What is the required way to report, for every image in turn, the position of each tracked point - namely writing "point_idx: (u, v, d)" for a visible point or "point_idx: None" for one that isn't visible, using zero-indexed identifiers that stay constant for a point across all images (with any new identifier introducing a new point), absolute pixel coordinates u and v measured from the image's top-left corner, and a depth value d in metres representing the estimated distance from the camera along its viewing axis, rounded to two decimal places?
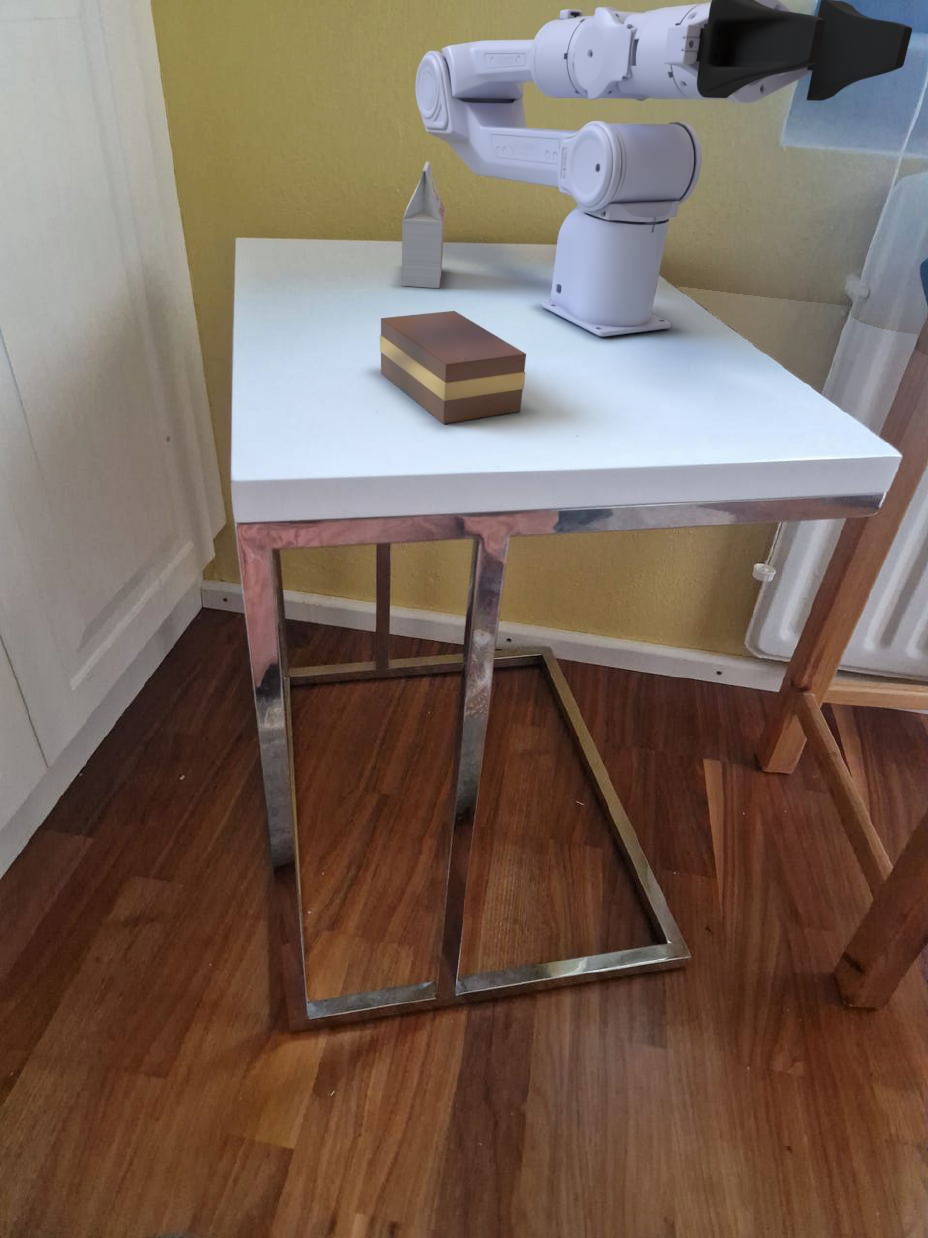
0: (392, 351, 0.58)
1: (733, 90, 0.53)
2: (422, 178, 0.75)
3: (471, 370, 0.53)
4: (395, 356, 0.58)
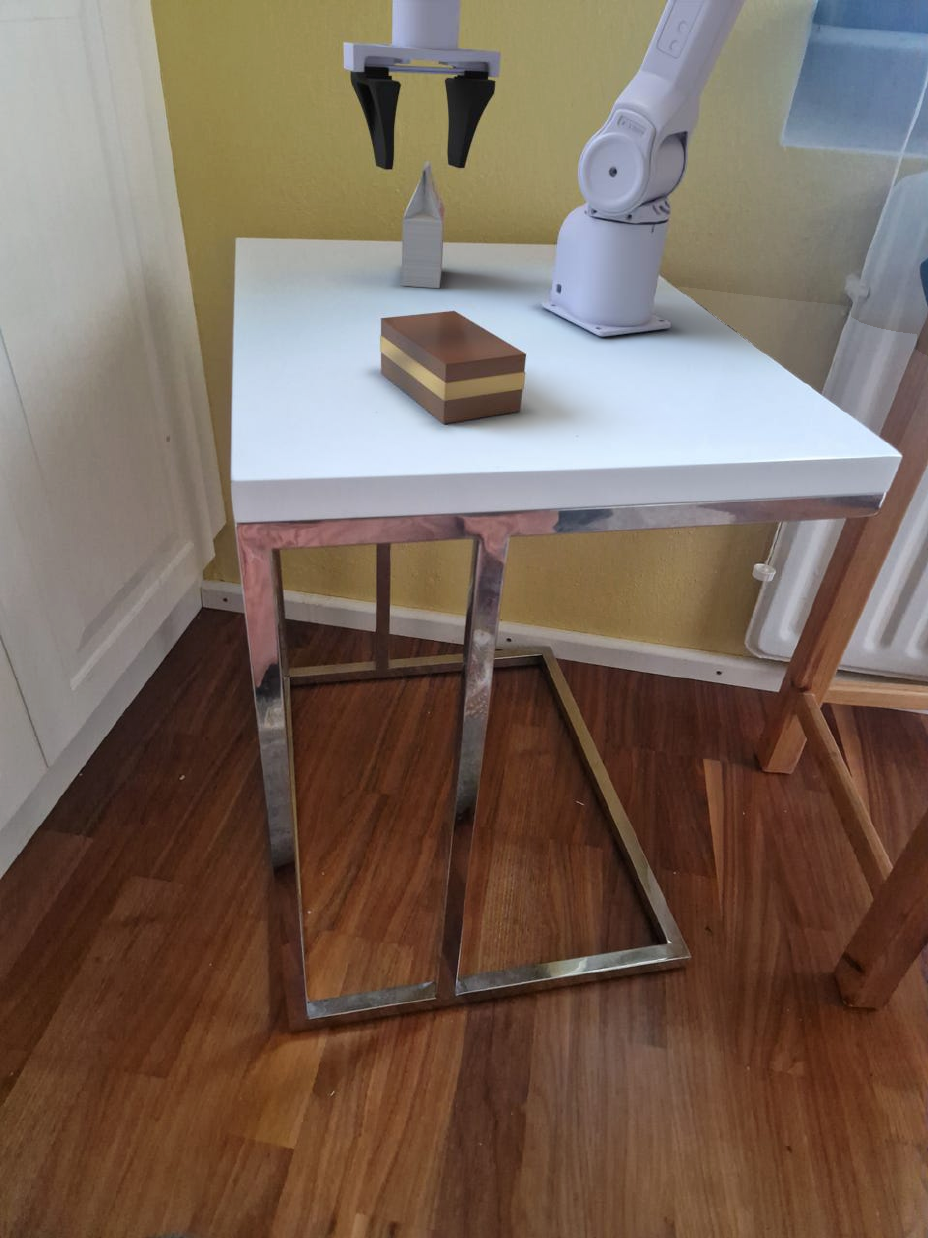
0: (392, 351, 0.58)
1: (475, 96, 0.73)
2: (422, 178, 0.75)
3: (471, 370, 0.53)
4: (395, 356, 0.58)
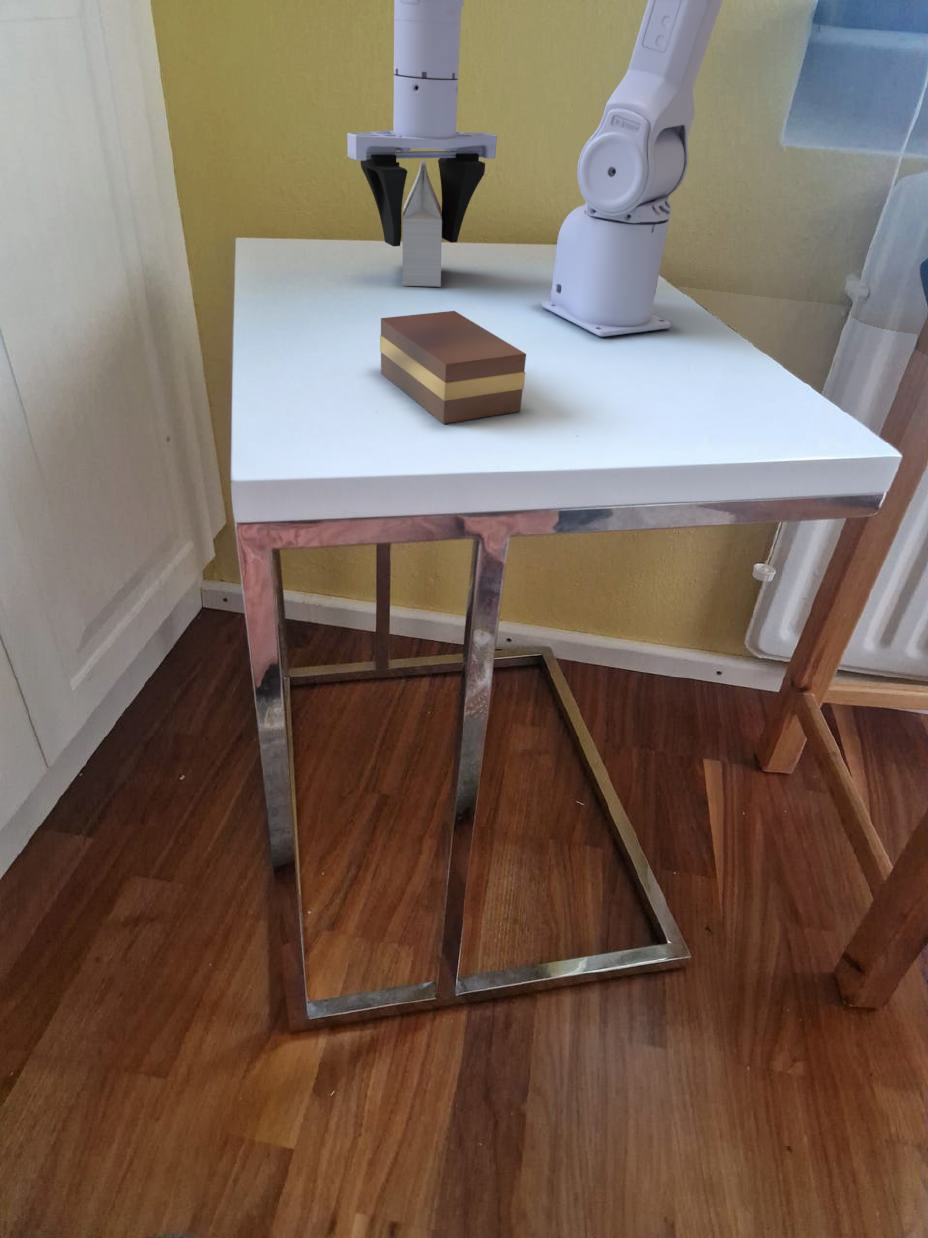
0: (392, 351, 0.58)
1: (466, 178, 0.77)
2: (421, 177, 0.75)
3: (471, 370, 0.53)
4: (395, 356, 0.58)
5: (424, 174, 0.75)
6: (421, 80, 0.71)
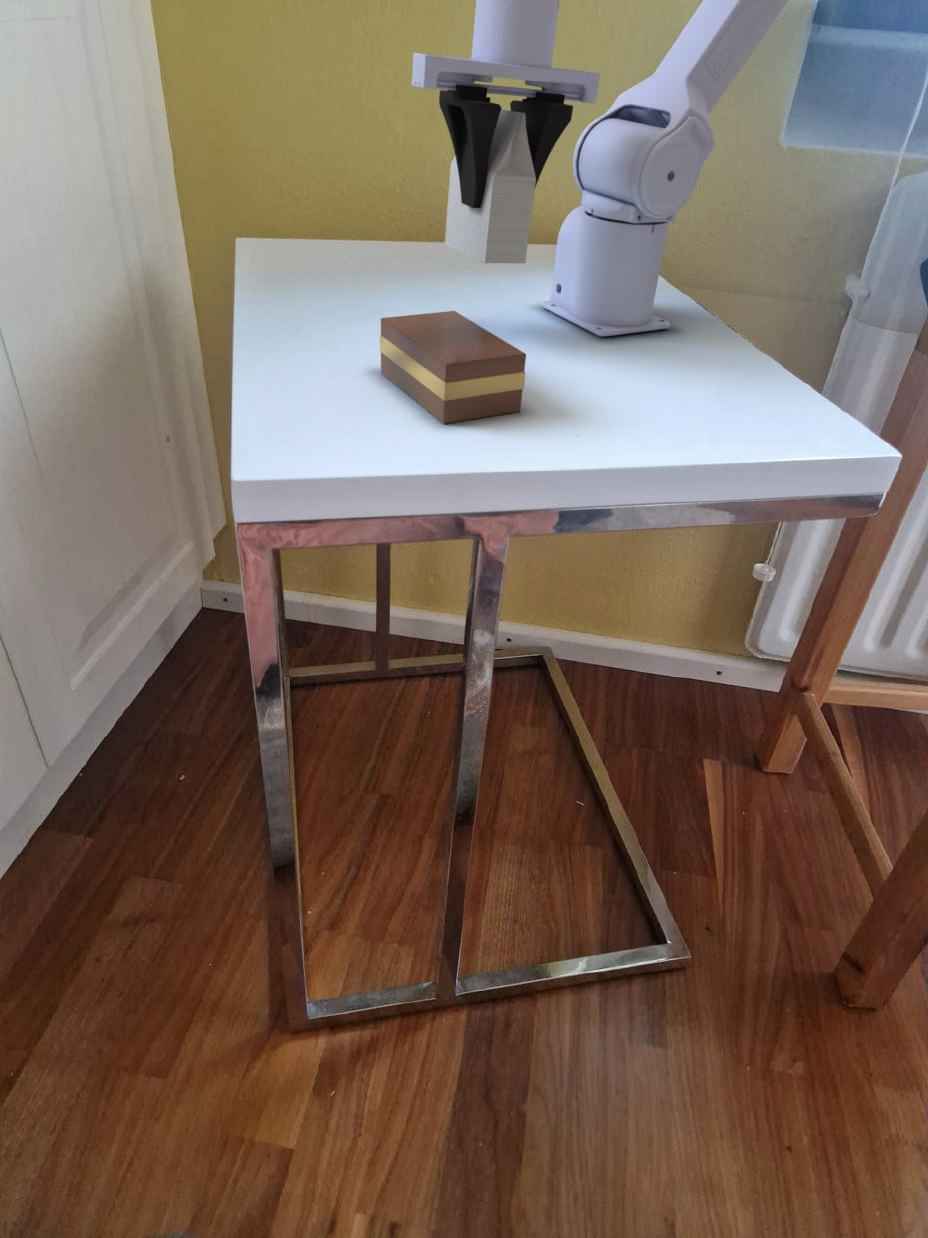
0: (392, 351, 0.58)
1: (547, 123, 0.60)
2: None
3: (471, 370, 0.53)
4: (395, 356, 0.58)
5: (521, 118, 0.59)
6: None
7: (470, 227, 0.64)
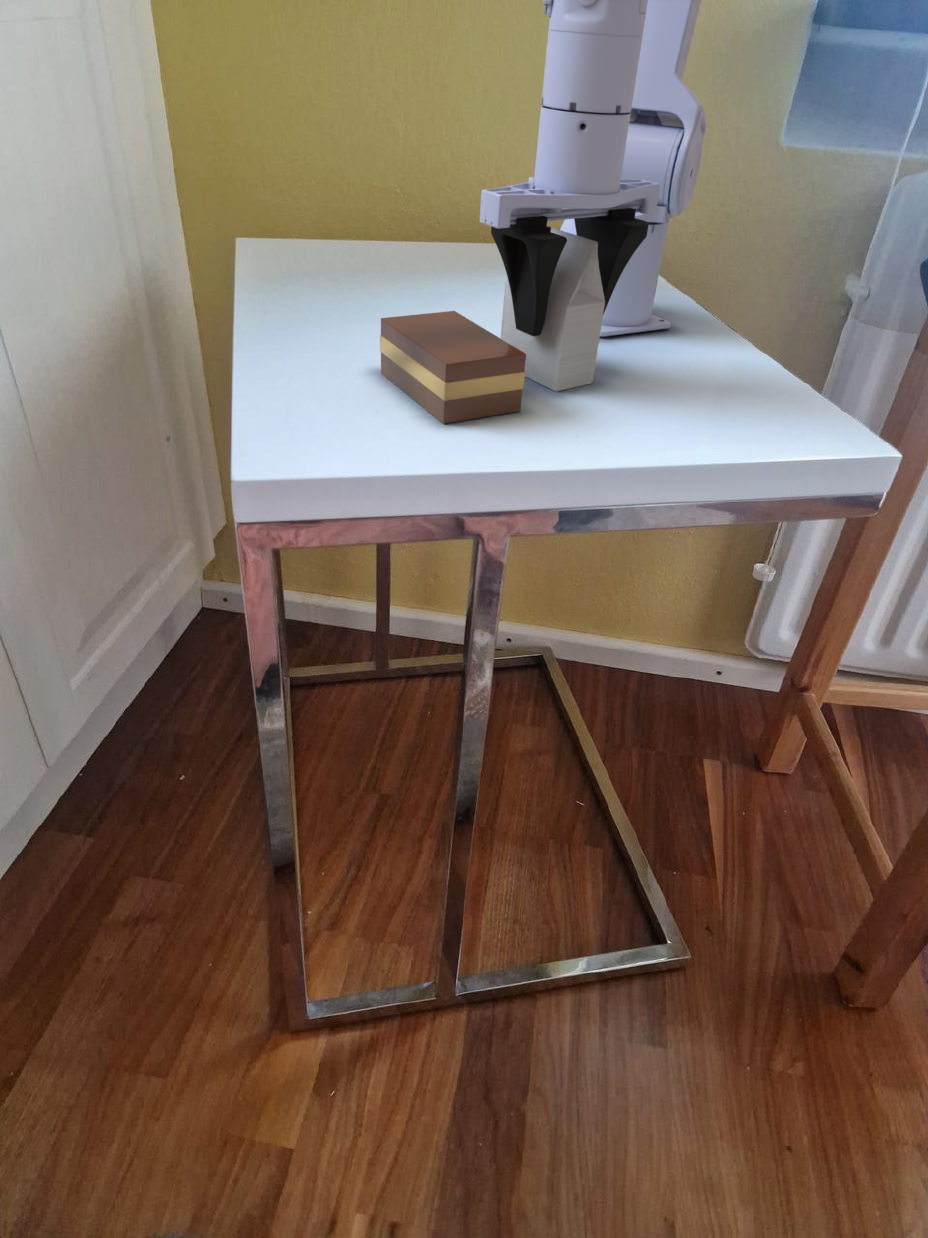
0: (392, 351, 0.58)
1: (625, 243, 0.57)
2: None
3: (471, 370, 0.53)
4: (395, 356, 0.58)
5: (592, 246, 0.56)
6: (591, 116, 0.50)
7: (534, 352, 0.61)
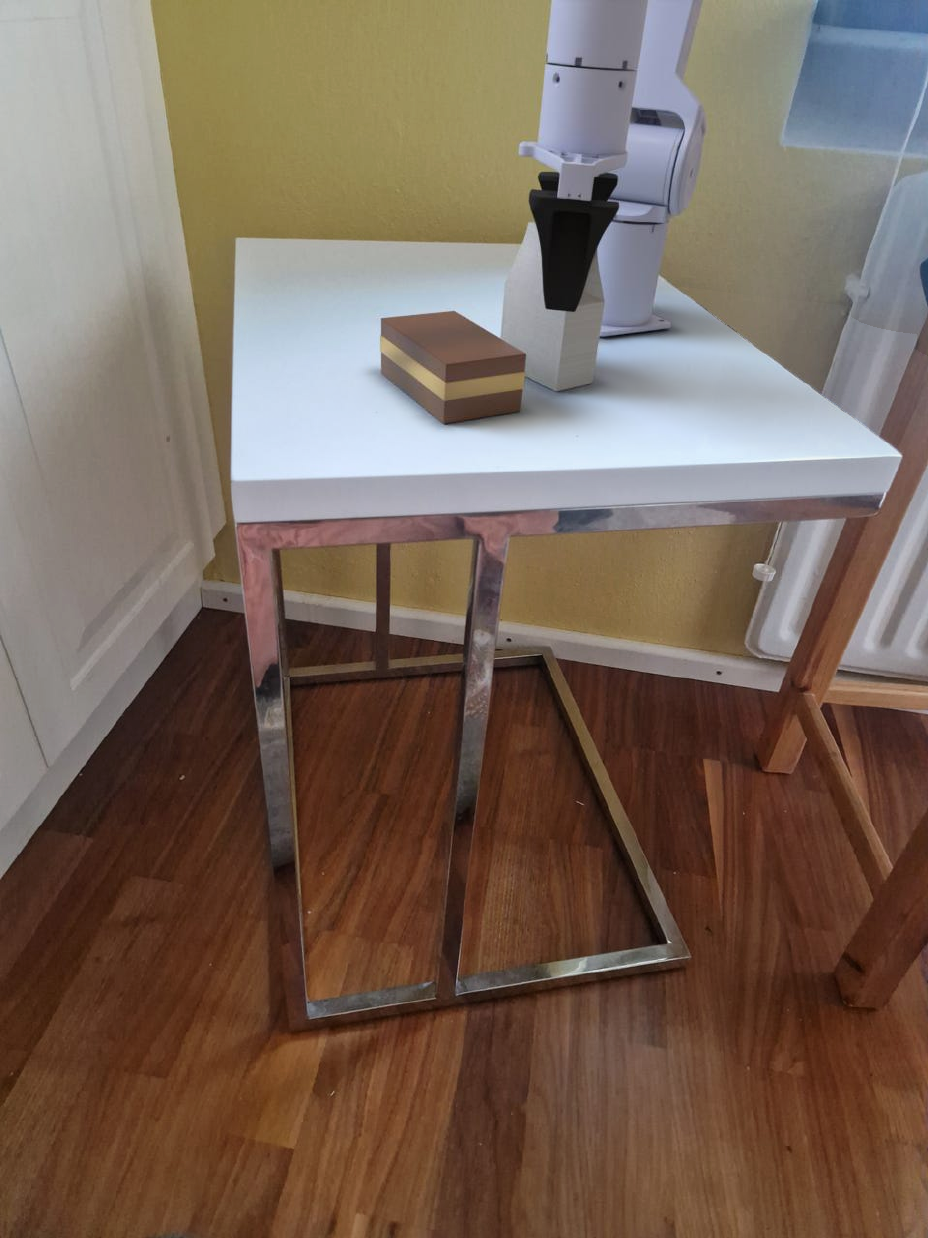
0: (392, 351, 0.58)
1: (609, 196, 0.59)
2: None
3: (471, 370, 0.53)
4: (395, 356, 0.58)
5: None
6: (629, 73, 0.50)
7: (534, 352, 0.61)
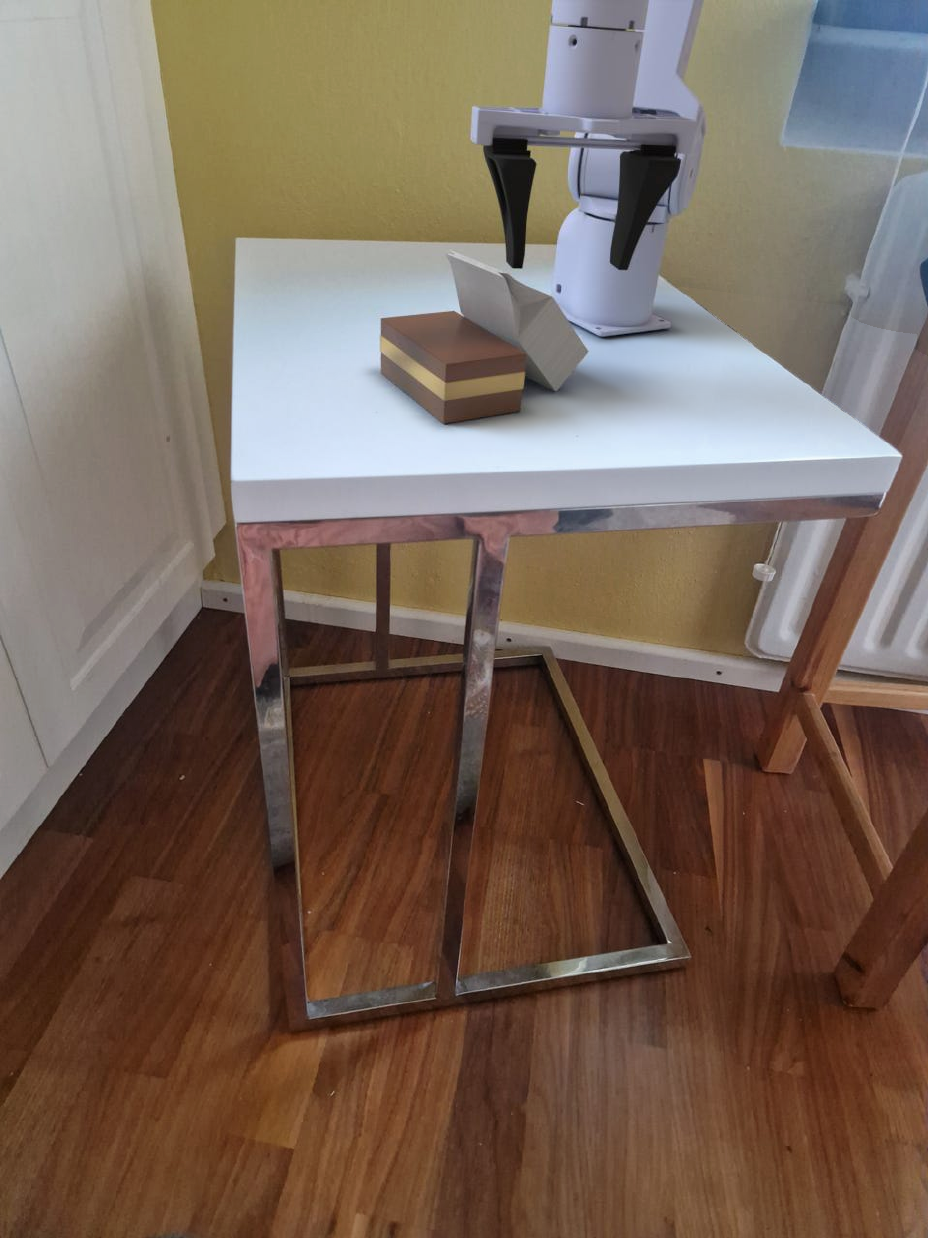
0: (392, 351, 0.58)
1: None
2: None
3: (471, 370, 0.53)
4: (395, 356, 0.58)
5: (507, 276, 0.53)
6: None
7: None
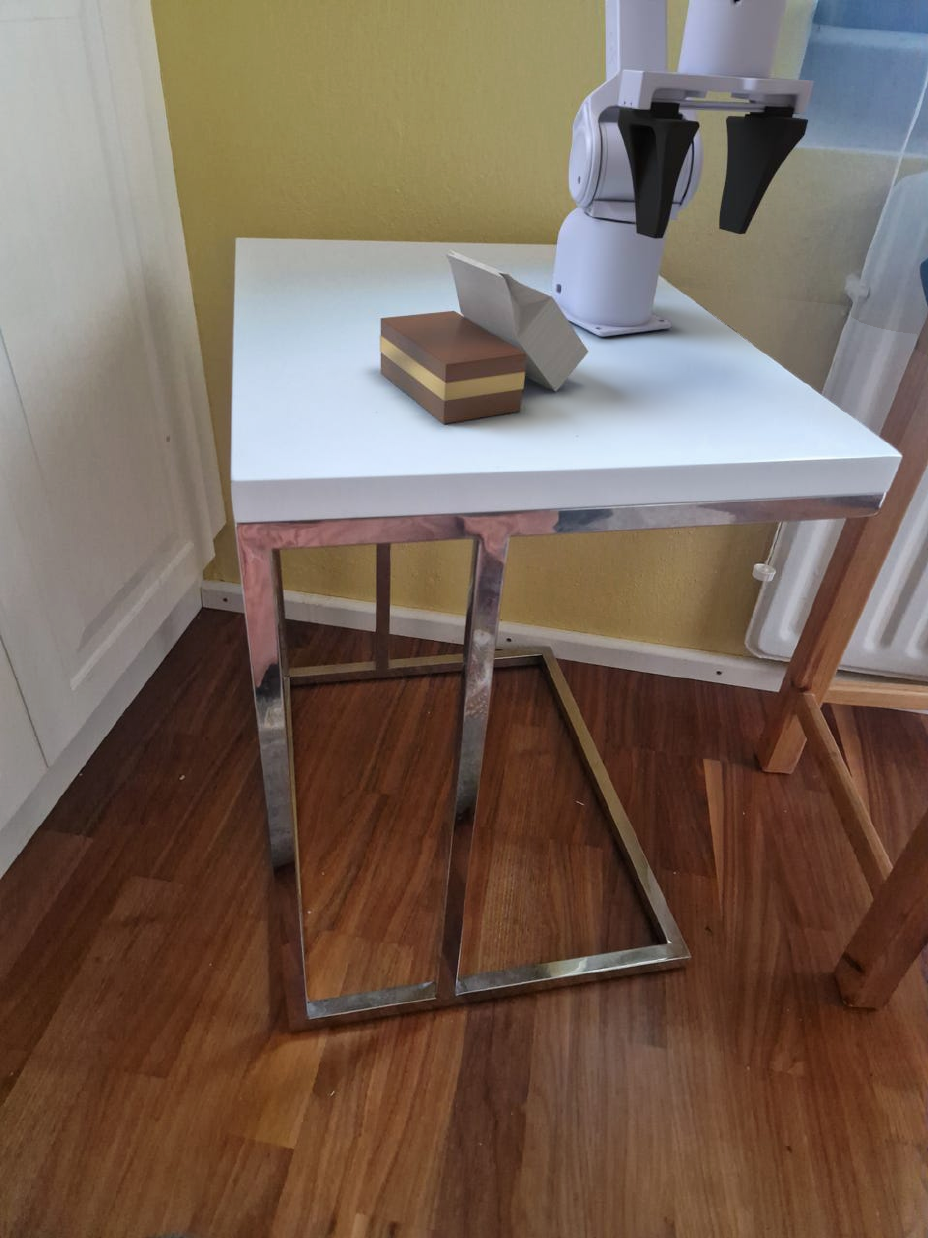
0: (392, 351, 0.58)
1: None
2: None
3: (471, 370, 0.53)
4: (395, 356, 0.58)
5: (506, 277, 0.53)
6: None
7: None
